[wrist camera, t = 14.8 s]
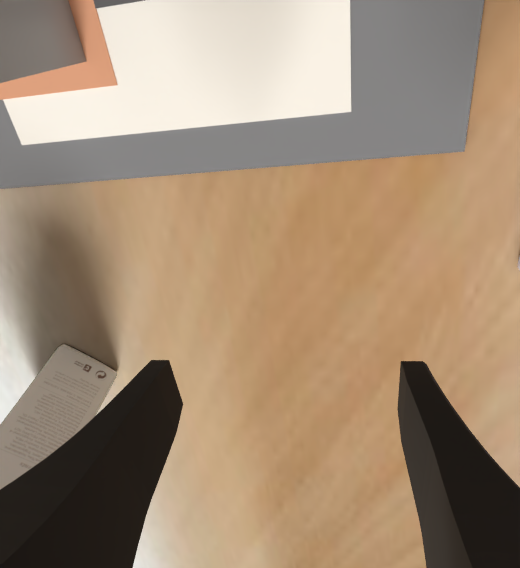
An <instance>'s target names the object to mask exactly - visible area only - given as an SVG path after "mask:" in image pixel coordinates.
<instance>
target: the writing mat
mask: <svg viewBox="0 0 520 568" xmlns="http://www.w3.org/2000/svg"><path fill="white" fill-rule="evenodd" d="M68 1H69V4H70V7H71V11H72V14H73V17H74V21H75V24H76V27H77V31H78V34H79V37H80V41H81V44H82V48H83V51H84V54H85V58H86V61H87V62H83V63H79V64H75V65H71V66H67V67H63V68H59V69H55V70H51V71H47V72H43V73H39V74H35V75H31V76H27V77H23V78H19V79H15V80H11V81H7V82H3V83H0V189H5V188H18V187H30V186H43V185H55V184H67V183H80V182H92V181H104V180H117V179H129V178H142V177H154V176H166V175H179V174H191V173H204V172H216V171H228V170H241V169H253V168H266V167H278V166H290V165H303V164H315V163H327V162H340V161H352V160H365V159H377V158H389V157H402V156H414V155H427V154H439V153H451V152H464V151H465V144H466V136H467V128H468V121H469V113H470V105H471V98H472V90H473V82H474V75H475V67H476V60H477V52H478V44H479V37H480V29H481V21H482V14H483V6H484V0H68Z"/></svg>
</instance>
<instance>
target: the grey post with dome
mask: <svg viewBox="0 0 520 568" xmlns="http://www.w3.org/2000/svg"><path fill="white" fill-rule="evenodd" d="M83 62H87V61H86V58H85V54H84V51H83V48H82V44H81V41H80V37H79V34H78V31H77V27H76V24H75V21H74V17H73V14H72V11H71V7H70V4H69V1H68V0H0V83H3V82H7V81H11V80H15V79H19V78H23V77H27V76H31V75H35V74H39V73H43V72H47V71H51V70H55V69H59V68H63V67H67V66H71V65H75V64H79V63H83Z"/></svg>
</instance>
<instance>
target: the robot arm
mask: <svg viewBox="0 0 520 568" xmlns="http://www.w3.org/2000/svg"><path fill="white" fill-rule="evenodd" d="M518 268H519V270H520V257H519V261H518ZM182 406H183V402H182V399H181V396H180V393H179V390H178V387H177V384H176V381H175V378H174V375H173V371H172V368H171V365H170V362H169V360H151V361H150V362H149V363H148V364H147V365H146V366H145V367H144V368H143V369H142V370H141V371H140V372H139V373H138V374H137V375H136V376H135V377H134V378H133V379H132V380H131V381H130V382H129V384H128V385H127V386H126V387H125V388H124V389H123V390H122V391H121V392H120V393H119V394H118V395H117V396H116V397H115V398H114V399H113V400H112V401H111V402H110V403H109V404H108V405H107V406H106V407H105V408H104V409H102V410H101V411H100V412H99V413H98V414H97V415H96V416H95V417H94V418H93V419H92V420H91V421H89V422H88V423H87V424H86V425H85V426H84V427H83V428H82V429H81V430H80V431H79V432H77V433H76V434H75V435H74V436H73V437H71V438H70V439H69V440H68V441H67V442H65V443H64V444H63V445H62V446H60V447H59V448H58V449H57V450H55V451H54V452H53V453H52V454H50V455H49V456H48V457H46V458H45V459H44V460H42V461H41V462H40V463H38V464H37V465H35V466H34V467H32V468H31V469H30V470H28V471H27V472H25V473H24V474H22V475H21V476H20V477H18V478H17V479H15V480H14V481H12V482H11V483H9V484H8V485H6V486H5V487H3V488H2V489H0V568H132V567H133V563H134V559H135V555H136V551H137V547H138V543H139V540H140V536H141V532H142V529H143V525H144V521H145V518H146V514H147V511H148V508H149V505H150V502H151V499H152V496H153V494H154V491H155V488H156V486H157V483H158V481H159V478H160V475H161V473H162V470H163V467H164V465H165V462H166V460H167V457H168V454H169V451H170V449H171V446H172V443H173V441H174V438H175V435H176V432H177V428H178V424H179V420H180V415H181V411H182ZM398 417H399V425H400V434H401V442H402V447H403V451H404V455H405V460H406V464H407V469H408V473H409V477H410V482H411V486H412V490H413V495H414V499H415V503H416V508H417V512H418V516H419V521H420V526H421V532H422V538H423V545H424V552H425V559H426V567H427V568H520V488H519V486H518V485H517V484H516V483H515V482H514V481H513V480H512V479H511V478H510V477H509V476H508V475H507V474H506V473H505V472H504V471H503V469H502V468H501V467H500V466H499V465H498V464H497V463H496V462H495V460H494V459H493V458H492V457H491V456H490V455H489V453H488V452H487V451H486V450H485V449H484V447H483V446H482V445H481V444H480V442H479V441H478V440H477V439H476V438H475V436H474V435H473V434H472V432H471V431H470V430H469V429H468V427H467V426H466V425H465V423H464V422H463V420H462V419H461V418H460V416H459V415H458V414H457V412H456V411H455V409H454V408H453V407H452V405H451V404H450V402H449V401H448V399H447V398H446V396H445V395H444V393H443V392H442V390H441V389H440V387H439V385H438V384H437V382H436V380H435V379H434V377H433V375H432V374H431V372H430V370H429V368H428V366H427V364H425V363H424V362H423V361H401V368H400V383H399V397H398Z"/></svg>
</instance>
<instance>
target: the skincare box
mask: <svg viewBox="0 0 520 568" xmlns="http://www.w3.org/2000/svg"><path fill="white" fill-rule="evenodd" d="M116 376H117V372H116V371H114V370H113V369H111V368H109V367H108V366H106V365H105V364H103V363H101V362H99V361H97V360H95V359H93V358H91V357H89V356H88V355H86V354H84V353H82V352H80V351H78V350H76V349H74V348H72V347H70V346H67V345H65V344H63V345H61V346H59V347H58V348H57V349H56V351H55V352H54V353H53V355H52V356H51V357H50V359H49V360H48V361H47V363H46V364H45V365H44V367H43V368H42V369H41V371H40V372H39V374H38V375H37V376H36V378H35V379H34V380H33V382H32V383H31V384H30V386H29V387H28V389H27V390H26V391H25V393H24V394H23V395H22V397H21V398H20V399H19V401H18V402H17V403H16V405H15V406H14V407H13V409H12V410H11V411H10V413H9V414H8V415H7V417H6V418H5V419H4V421H3V422H2V423H1V425H0V489H2V488H3V487H5V486H6V485H8V484H9V483H11V482H12V481H14V480H15V479H17V478H18V477H20V476H21V475H22V474H24V473H25V472H27V471H28V470H30V469H31V468H32V467H34V466H35V465H37V464H38V463H40V462H41V461H42V460H44V459H45V458H46V457H48V456H49V455H50V454H52V453H53V452H54V451H55V450H57V449H58V448H59V447H60V446H62V445H63V444H64V443H65V442H67V441H68V440H69V439H70V438H71V437H73V436H74V435H75V434H76V433H77V432H79V431H80V430H81V429H82V428H83V427H84V426H85V425H86V424H87V423H88V422H89V421H91V420H92V419H93V418H94V417H95V415H96V414H97V412H98V410H99V408H100V406H101V405H102V403H103V401H104V399H105V397H106V395H107V393H108V392H109V390H110V388H111V386H112V384H113V382H114V380H115V378H116Z"/></svg>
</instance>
